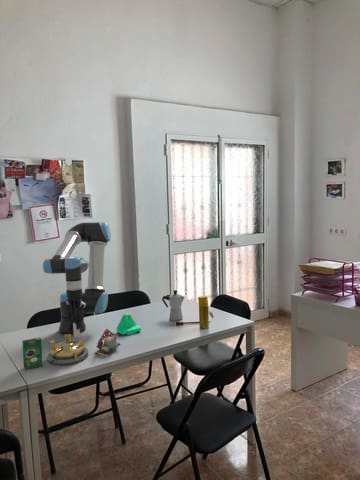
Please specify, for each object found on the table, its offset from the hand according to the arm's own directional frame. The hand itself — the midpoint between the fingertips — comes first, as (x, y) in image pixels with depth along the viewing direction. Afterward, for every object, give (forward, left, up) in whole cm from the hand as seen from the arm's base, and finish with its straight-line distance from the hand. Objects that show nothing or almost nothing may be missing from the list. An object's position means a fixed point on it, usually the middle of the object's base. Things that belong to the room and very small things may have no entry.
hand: (76, 335), depth 193 cm
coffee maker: (+14, +67, -9) cm, 69 cm away
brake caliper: (+12, +9, -9) cm, 18 cm away
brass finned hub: (0, -7, -6) cm, 9 cm away
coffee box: (-5, -22, -9) cm, 24 cm away
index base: (0, -7, -9) cm, 11 cm away
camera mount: (+5, +35, -9) cm, 36 cm away
